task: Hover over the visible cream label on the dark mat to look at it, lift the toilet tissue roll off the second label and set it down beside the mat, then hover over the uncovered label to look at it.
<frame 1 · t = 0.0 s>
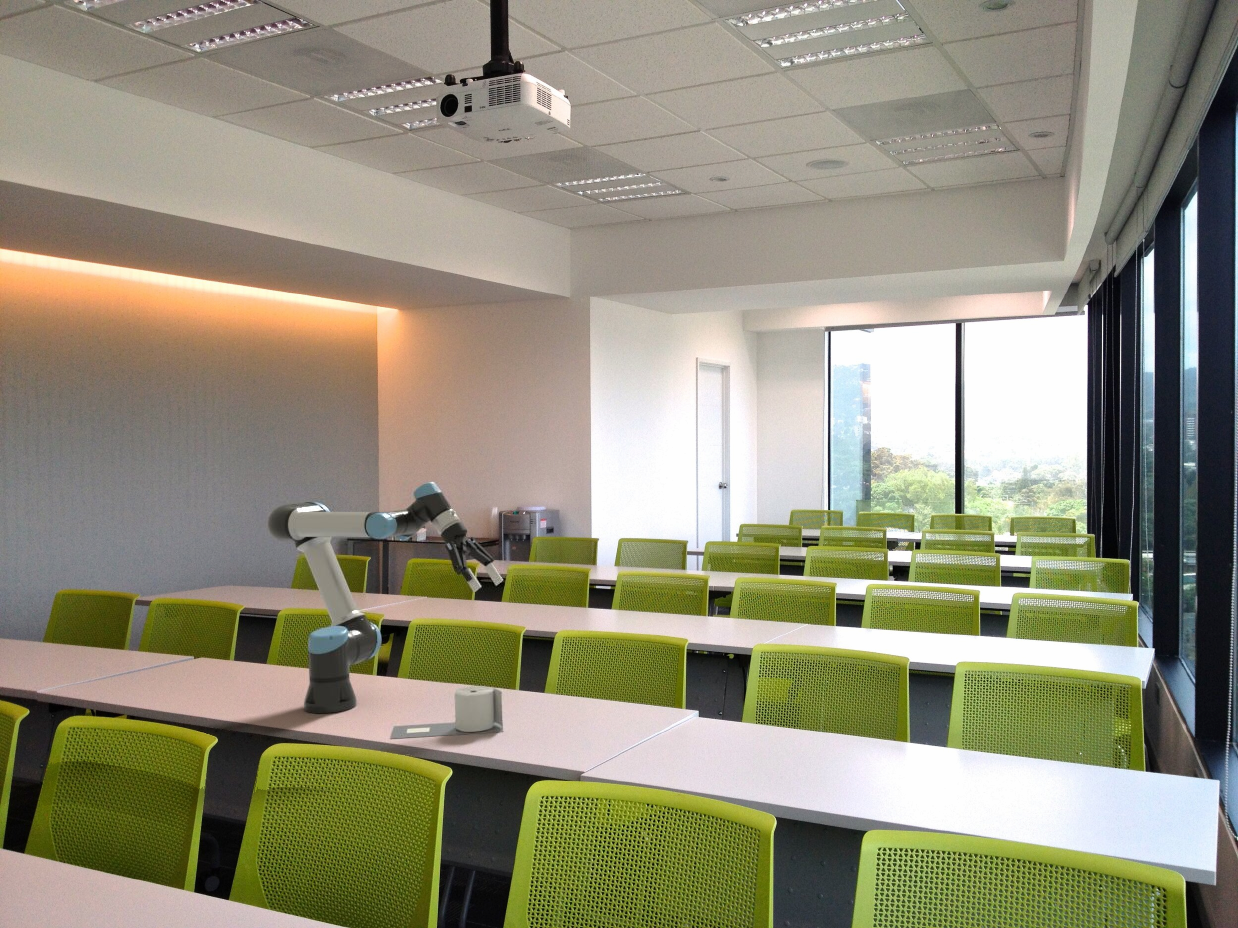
hand: (489, 586, 296), 36 cm above the table, fingers open, 13 cm apart
toilet tissue: (477, 727, 276), resting on label mat
label mat: (447, 728, 275), on the table
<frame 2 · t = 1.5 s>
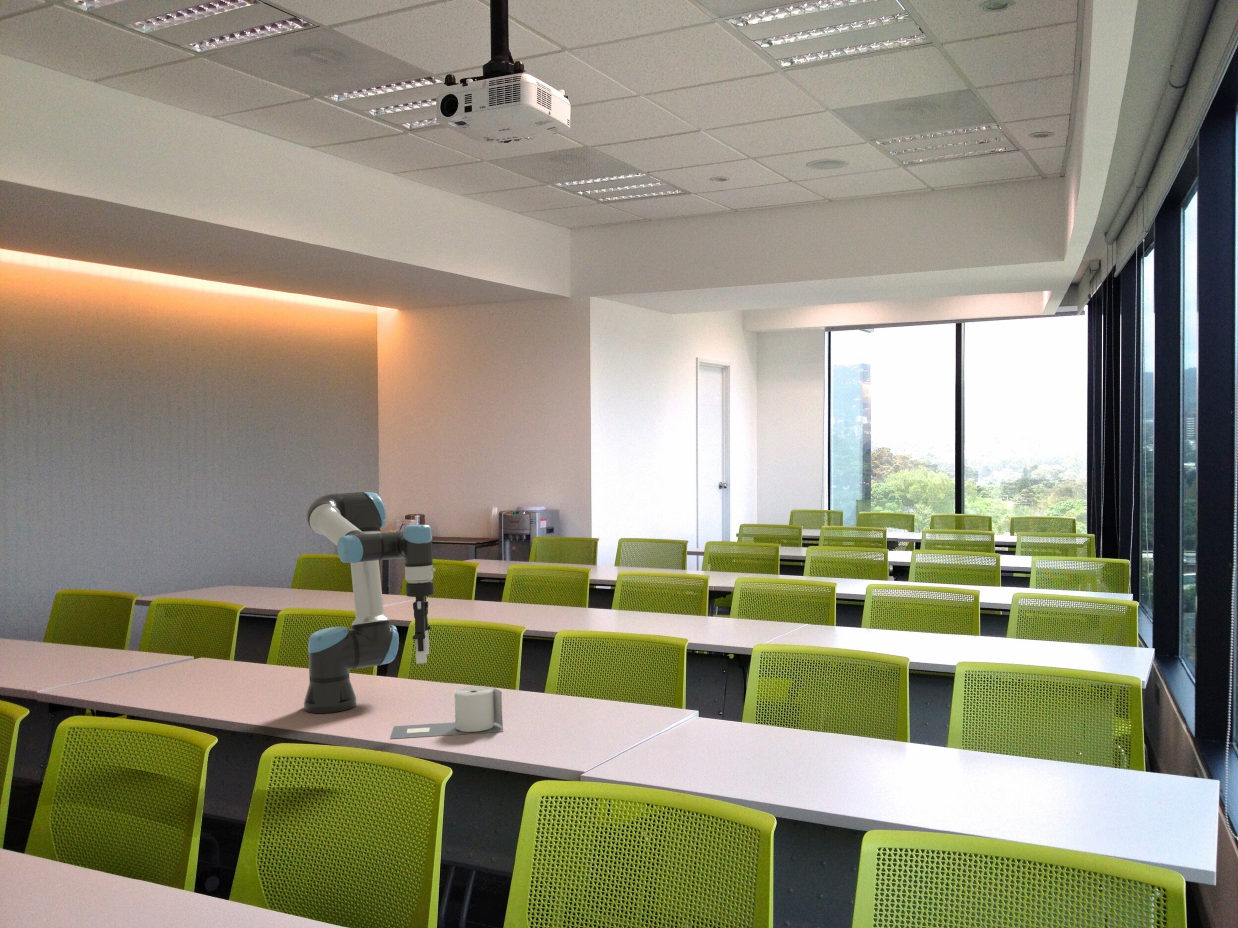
hand: (423, 658, 275), 20 cm above the table, fingers open, 13 cm apart
nothing on the table moved.
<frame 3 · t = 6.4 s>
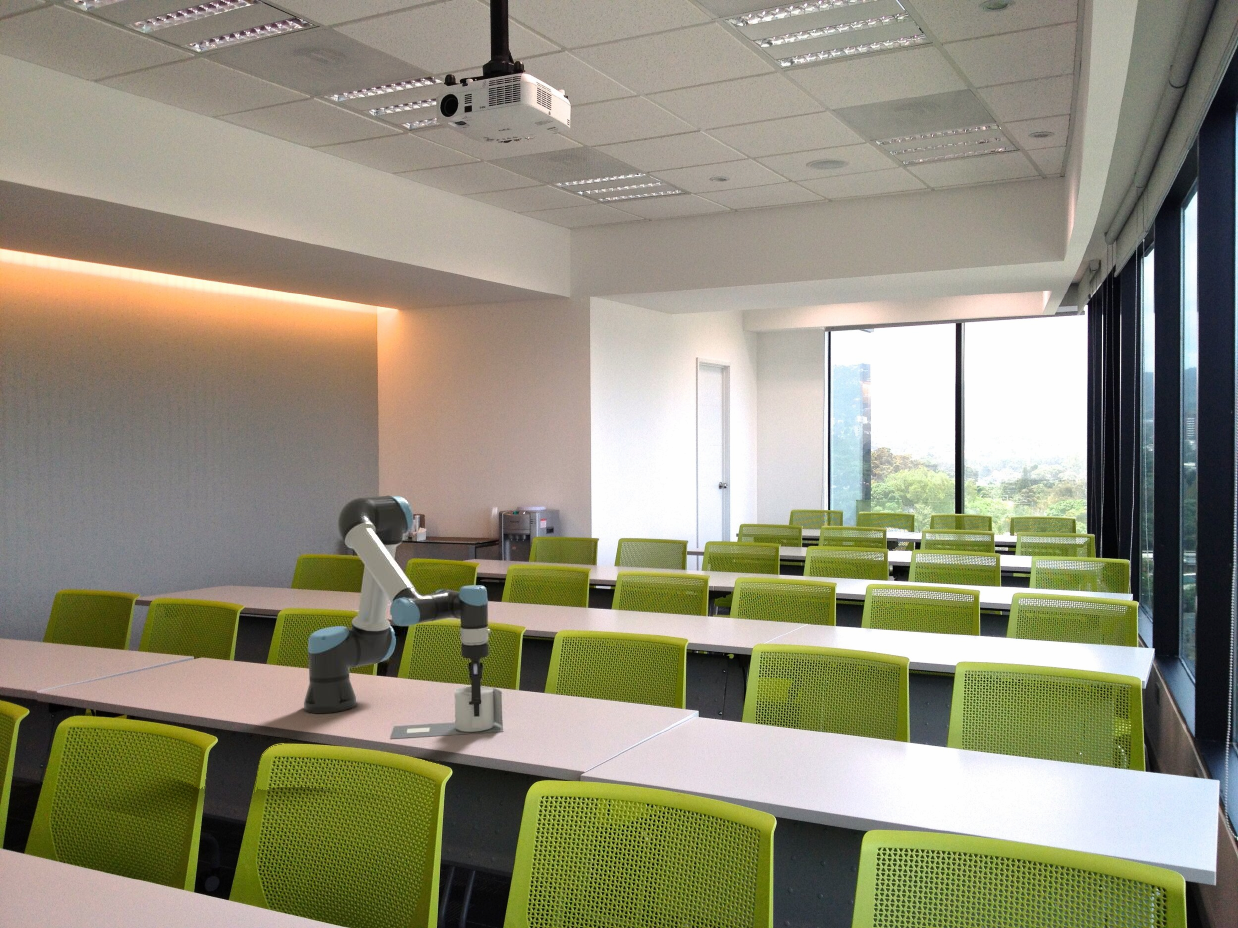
hand: (477, 721, 276), 1 cm above the table, fingers closed on toilet tissue, 11 cm apart
toilet tissue: (477, 726, 276), resting on label mat, touching gripper
when the fingers open (3 cm above the table, at t = 12.8 s): toilet tissue drops 2 cm, on the table.
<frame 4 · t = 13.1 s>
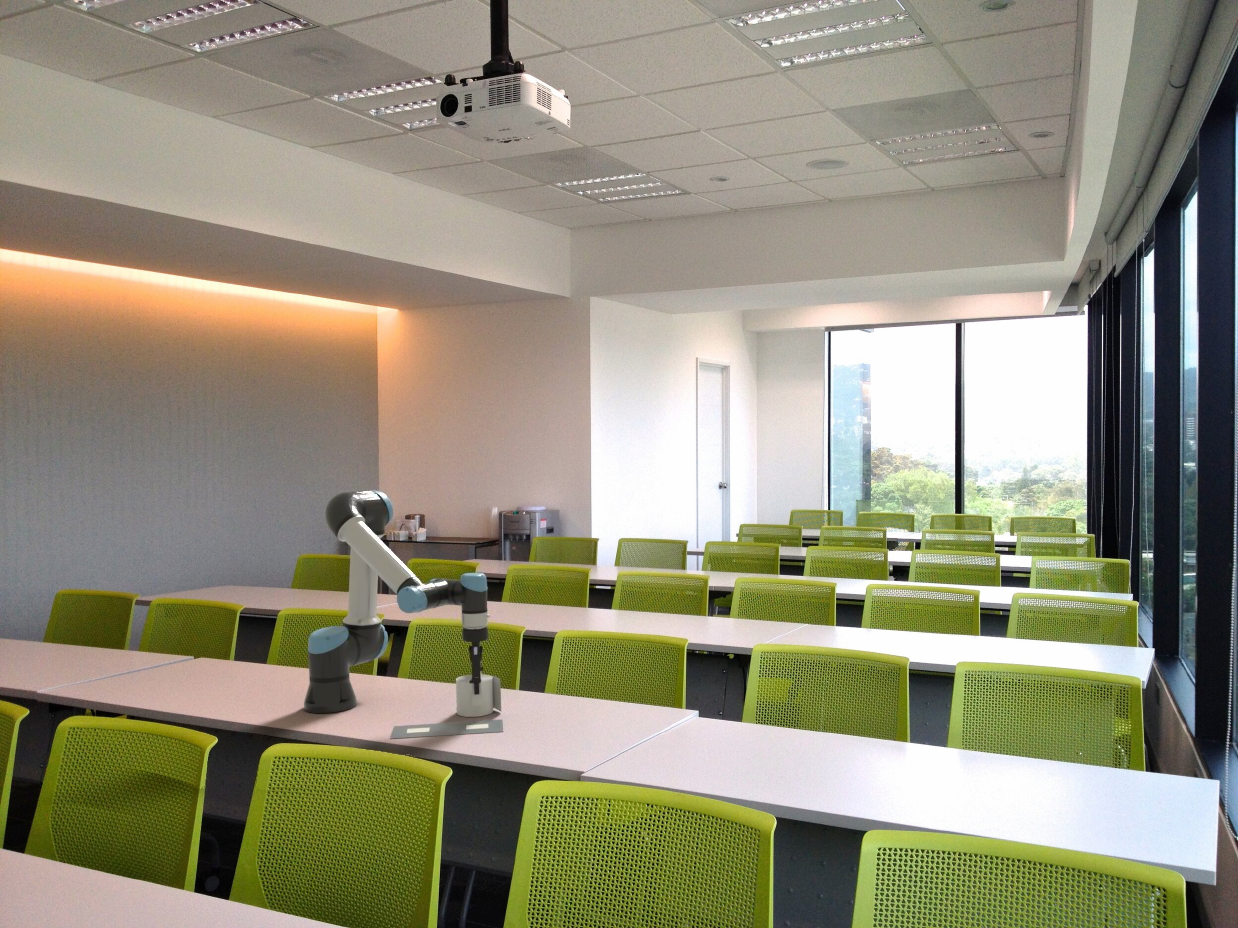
hand: (477, 699, 292), 4 cm above the table, fingers open, 13 cm apart
toilet tissue: (477, 712, 292), on the table
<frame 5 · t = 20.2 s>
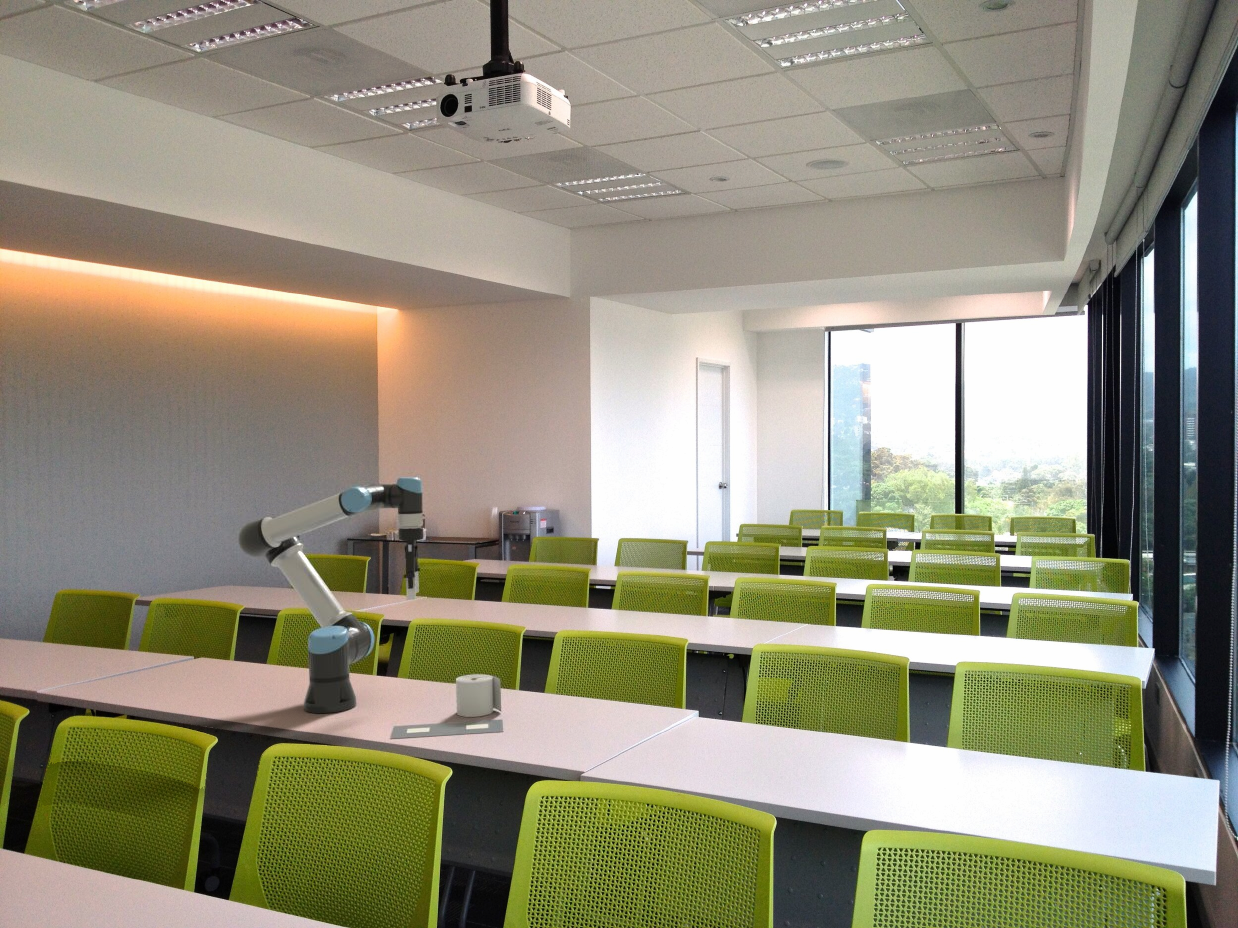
hand: (412, 595, 309), 32 cm above the table, fingers open, 13 cm apart
nothing on the table moved.
at the end: toilet tissue inside the target area (0.1 cm from its centre), on the table; toilet tissue tilted 0°; the gripper is holding nothing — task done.
